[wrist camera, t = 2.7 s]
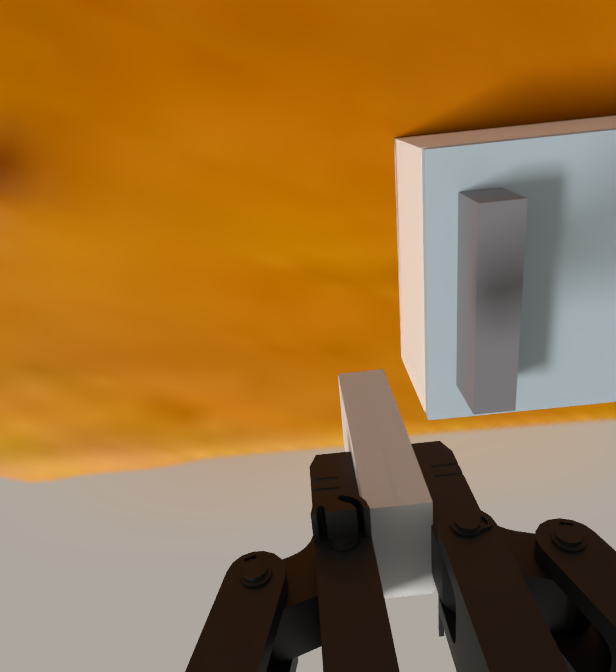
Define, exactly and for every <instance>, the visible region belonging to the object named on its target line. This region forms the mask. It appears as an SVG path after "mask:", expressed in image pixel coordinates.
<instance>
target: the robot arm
mask: <svg viewBox="0 0 616 672" xmlns="http://www.w3.org/2000/svg"><path fill="white" fill-rule="evenodd" d="M338 379H339V391H340V403H341V415H342V427H343V439H344V447H345V452H341V453H331V454H322V455H316V456H315V458H314V460H313V462H312V464H311V465H310V477H311V491H312V505H313V506H312V511H311V519H312V529H313V537H312V539H311V541H310V543H309V544H308V545H307V546H306V547H305V548H304V549H303V550H302V551H300V552H299V553H297V554H295V555H293V556H290V557H288V558H285V559H281V558H279V557H278V556H277V555H275V554H274V553H269V552H265V551H259V552H251V553H248V554H246V555H243V556H241V557H240V558H238V559H237V560H236V561H235V562H233V563H232V565H231V566H230V568H229V569H228V571H227V573H226V575H225V577H224V580H223V582H222V584H221V587H220V589H219V592H218V594H217V596H216V599H215V601H214V604H213V606H212V609H211V611H210V613H209V616H208V618H207V621H206V623H205V626H204V628H203V630H202V633H201V635H200V638H199V640H198V642H197V645H196V647H195V649H194V652H193V654H192V657H191V659H190V661H189V664H188V666H187V669H186V671H185V672H296V668H297V663H298V656H300V655H302V654H304V653H307V652H309V651H311V650H313V649H316V648H318V647H320V646H322V658H323V672H399V667H398V662H397V657H396V653H395V648H394V643H393V638H392V633H391V629H390V623H389V618H388V614H387V609H386V604H385V599H384V598H393V597H403V596H412V595H422V594H432V593H434V583H433V581H434V582H435V585H436V588H437V591H438V594H439V636H444V631H445V634H446V637H447V641H448V644H449V647H450V650H451V654H452V657H453V661H454V664H455V667H456V671H457V672H616V551H615V550H614V549H612V547H610V546H609V545H608V544H607V543H606V542H605V541H604V540H603V539H601V538H600V536H598V535H597V534H596V533H595V532H594V531H592V530H591V529H590V528H588V527H587V526H585V525H583V524H581V523H578V522H575V521H573V520H566V519H552V520H547V521H545V522H543V523H542V524H540V525H539V527H538V529H537V530H536V534H533V533H526V532H518V531H513V530H508V529H505V528H502V527H499V526H497V524H496V523H495V521H494V520H493V519H492V518H491V516H489V515H488V514H486V513H484V512H483V511H481V510H480V508H479V506H478V504H477V502H476V500H475V498H474V496H473V494H472V492H471V490H470V487H469V485H468V484H467V481H466V479H465V477H464V475H463V474H462V471H461V469H460V467H459V465H458V463H457V460H456V458H455V456H454V454H453V452H452V451H451V450H450V449H449V448H448V447H446V446H445V445H444V444H443V443H441V442H440V441H435V442H425V443H416V444H411V442H410V440H409V437H408V434H407V431H406V429H405V426H404V423H403V421H402V418H401V415H400V413H399V410H398V407H397V405H396V402H395V399H394V396H393V394H392V391H391V388H390V386H389V383H388V380H387V378H386V375H385V372H384V370H383V369H382V370H372V371H362V372H353V373H343V374H338ZM433 578H434V579H433Z"/></svg>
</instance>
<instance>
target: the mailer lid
mask: <svg viewBox="0 0 616 672" xmlns="http://www.w3.org/2000/svg"><path fill="white" fill-rule="evenodd" d="M422 191H423V258H424V325H425V392H426V416H427V418H428V420H436V419H446V418H456V417H466V416H476V415H486V414H496V413H506V412H516V411H527V410H537V409H547V408H557V407H567V406H577V405H587V404H597V403H607V402H616V128H614V129H605V130H595V131H585V132H576V133H566V134H556V135H547V136H537V137H528V138H518V139H508V140H499V141H489V142H479V143H470V144H460V145H451V146H441V147H431V148H422Z"/></svg>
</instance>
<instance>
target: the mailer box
mask: <svg viewBox="0 0 616 672" xmlns="http://www.w3.org/2000/svg"><path fill="white" fill-rule="evenodd" d="M614 128H616V115H612V116H602V117H593V118H583V119H574V120H564V121H554V122H545V123H535V124H526V125H516V126H506V127H497V128H487V129H478V130H468V131H458V132H449V133H439V134H429V135H420V136H410V137H401V138H394V152H395V182H396V212H397V242H398V272H399V302H400V332H401V358H402V360H403V363H404V365H405V367H406V370H407V372H408V374H409V377H410V379H411V381H412V384H413V386H414V388H415V391H416V393H417V395H418V397H419V400H420V402H421V404H422V407H423V409H424V411H425V412H426V392H425V325H424V258H423V191H422V148H431V147H441V146H451V145H460V144H470V143H479V142H489V141H499V140H508V139H518V138H528V137H537V136H547V135H556V134H566V133H576V132H585V131H595V130H605V129H614Z"/></svg>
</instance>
